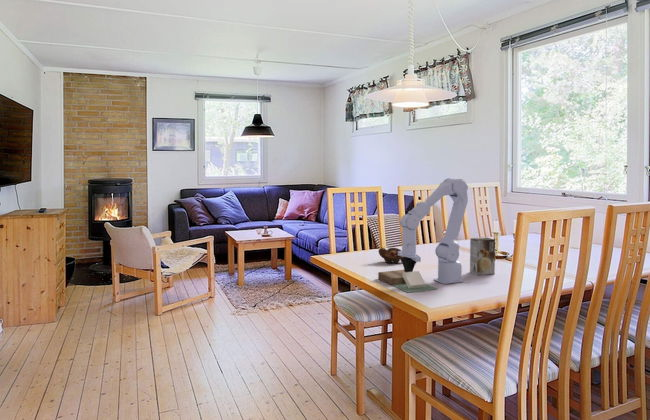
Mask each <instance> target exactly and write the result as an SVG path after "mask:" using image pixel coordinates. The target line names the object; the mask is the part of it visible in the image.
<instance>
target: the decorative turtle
mask: <svg viewBox="0 0 650 420" xmlns="http://www.w3.org/2000/svg"><path fill="white" fill-rule="evenodd" d="M398 251H402V249H400V248H397V247H389V248H387V249H386V248H385V247H381V248H379V249H378V254H379V256H380V257H381V258H382V259H383V260H384V262H385V261H386V263H387V264H388V263H389V264H391V263H392V262H393V263H395V264H399V262H401V259H403V258H404V257H402V256H398Z"/></svg>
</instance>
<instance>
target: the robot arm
mask: <svg viewBox="0 0 650 420" xmlns="http://www.w3.org/2000/svg"><path fill="white" fill-rule="evenodd" d="M468 188H469V185H468V184H467V182H466V181H465V180H464V179H462V178H450V177H448V178H445V179H444V180H443V181H442V182H440V183H439V185H438V187H437V188H436V189H435V190H434V191H433V192H432V193H431V194H430V195H429V196H428V197H427V199H426V200H425V201H420V202H417V203H415V206H414V207H412V209H411V210H409V211H408V212H407V213H406V214H404V215H402V216H401V218H400V220H399V225H400V226H401V250H402V251H398V256H402V257H404V258H403V259H401V260H400V262H401V264H402V267H403V270H405V272H413V271H414V269H415V268H414V267H415V266H416V264H417V263H420V262H421V260H422V259H421V258H422V257H421V256H420V255H418V254H417V228H418V227H419V225H420V222H421V221H422V220H423V219H424V218H425V217H426V216H427V215H428V214H429V213H430V212H431V207H433V206H434V205H435V204H436V203H437V202H438V201H440V200H442V198H443V197H444V196H449V197H450V198H451V200H452V202H453V203H452V206H451V212H450V215H449V217H448V222H447V226H446V229H445V231H444V232H445V234H444V235H443V237H442V238H441V239H440V240H439V243H438V244H437V246H436V247H435V255H436V257H437V260H438V261H437V262H438V263H437V278H433V280H434V281H435V282H439V283H441V284H443V285H446V284H447V285H449V284H454V283H456V284H457V283H462V282H463V280H462V275H463V274H462V273H463V271H462V263H461V262H460V260H458V259H459V257H460V251H459V250H460V244H459V242H458V238H459V234H460V230H461V227H462V224H463V220H464V217H465V213H466V209H467V205H468V200H469V196H468Z"/></svg>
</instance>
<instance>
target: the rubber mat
mask: <svg viewBox="0 0 650 420" xmlns="http://www.w3.org/2000/svg"><path fill="white" fill-rule="evenodd" d="M391 286H393V287H394V288H396V289H399V290H400V291H403V292H404V293H406V294H409V293H410V294H411V293H419V292H425V291H426V292H427V291H434V290H438V288H437V287H435V286H432V285H430V284H428V283H426V285H425V287H421V288H412V289H409V288H408V286H407V284H406V283H404V284H395V285H391Z"/></svg>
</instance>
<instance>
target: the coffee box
mask: <svg viewBox="0 0 650 420" xmlns="http://www.w3.org/2000/svg"><path fill="white" fill-rule="evenodd" d="M469 241H470V242H469V243H470V245H469V246H470V247H469V248H470V249H469V250H470V251H469V253H470V255H469V258H470V259H469V272H470V273H471V274H473V275H475V276H486V275H495V270H496V269H495V265H496V264H495V262H496V261H495V259H496V256H495V255H496V254H495V253H496V239H494V238H489V237H475V238H473V237H472V238H470V239H469Z"/></svg>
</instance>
